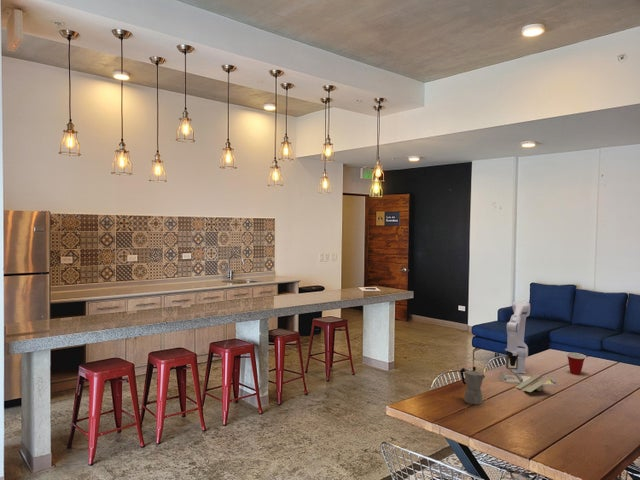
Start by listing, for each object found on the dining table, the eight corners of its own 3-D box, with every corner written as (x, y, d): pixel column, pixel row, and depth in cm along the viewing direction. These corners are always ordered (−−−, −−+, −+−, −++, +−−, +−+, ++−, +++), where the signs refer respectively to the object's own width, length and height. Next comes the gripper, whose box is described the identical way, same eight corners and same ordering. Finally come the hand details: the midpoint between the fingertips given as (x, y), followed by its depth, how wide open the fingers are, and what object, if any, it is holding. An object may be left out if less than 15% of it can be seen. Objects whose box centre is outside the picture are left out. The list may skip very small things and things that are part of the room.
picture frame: (505, 367, 289) (506, 355, 289) (516, 367, 288) (516, 356, 288) (506, 368, 285) (507, 357, 285) (517, 369, 284) (517, 357, 284)
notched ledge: (500, 376, 294) (500, 372, 294) (550, 379, 288) (550, 375, 288) (504, 382, 282) (504, 377, 282) (556, 386, 277) (556, 381, 276)
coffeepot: (489, 403, 246) (490, 368, 245) (477, 407, 241) (478, 371, 240) (465, 394, 259) (466, 361, 258) (453, 397, 254) (454, 364, 253)
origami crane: (541, 404, 257) (559, 385, 260) (530, 392, 258) (548, 373, 260) (524, 398, 274) (541, 380, 276) (514, 387, 274) (531, 369, 276)
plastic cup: (567, 375, 299) (568, 355, 298) (564, 370, 309) (564, 351, 309) (587, 377, 296) (587, 357, 295) (583, 372, 306) (583, 353, 306)
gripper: (503, 339, 294) (502, 361, 294) (507, 344, 280) (507, 367, 280) (515, 339, 293) (514, 361, 293) (520, 345, 279) (519, 368, 279)
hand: (511, 364), depth 287 cm, fingers closed on picture frame, 4 cm apart
